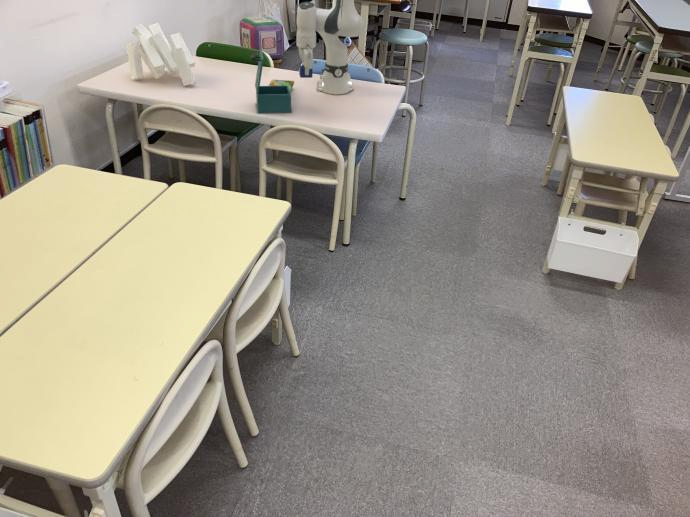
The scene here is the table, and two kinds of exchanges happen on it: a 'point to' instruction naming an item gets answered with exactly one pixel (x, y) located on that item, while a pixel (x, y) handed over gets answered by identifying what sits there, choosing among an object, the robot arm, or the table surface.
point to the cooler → (273, 99)
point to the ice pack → (302, 72)
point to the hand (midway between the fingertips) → (305, 72)
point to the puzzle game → (282, 83)
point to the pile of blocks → (159, 54)
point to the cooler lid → (258, 69)
